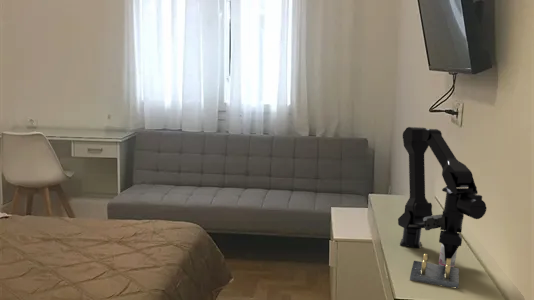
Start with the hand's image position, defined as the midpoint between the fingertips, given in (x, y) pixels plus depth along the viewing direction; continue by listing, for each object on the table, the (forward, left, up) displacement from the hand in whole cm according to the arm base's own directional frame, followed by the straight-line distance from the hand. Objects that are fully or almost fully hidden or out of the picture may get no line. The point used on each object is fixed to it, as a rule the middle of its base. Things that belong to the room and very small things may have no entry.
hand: (447, 258), depth 181 cm
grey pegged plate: (+12, -3, -2) cm, 13 cm away
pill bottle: (0, 0, -2) cm, 2 cm away
